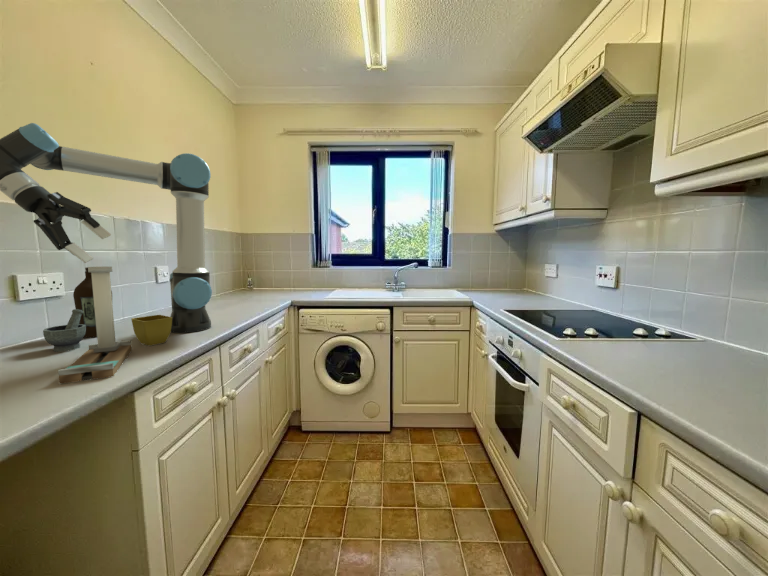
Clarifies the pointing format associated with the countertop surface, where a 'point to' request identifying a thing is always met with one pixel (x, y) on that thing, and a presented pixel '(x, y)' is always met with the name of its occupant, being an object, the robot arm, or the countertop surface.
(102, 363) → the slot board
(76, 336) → the mortar and pestle
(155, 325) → the flower pot
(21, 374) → the countertop surface
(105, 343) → the slider
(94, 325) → the olive oil
